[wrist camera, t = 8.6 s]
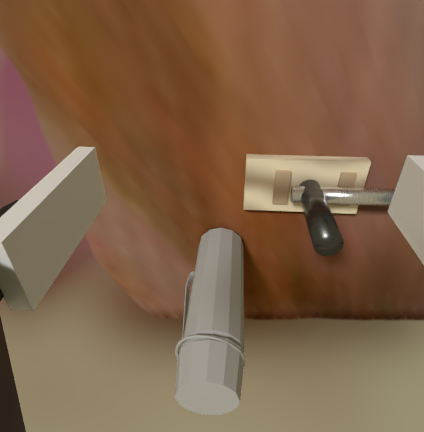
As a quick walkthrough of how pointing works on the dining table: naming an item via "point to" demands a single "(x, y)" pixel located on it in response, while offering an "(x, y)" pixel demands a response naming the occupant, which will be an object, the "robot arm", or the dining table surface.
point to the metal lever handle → (321, 214)
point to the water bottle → (213, 327)
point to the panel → (299, 179)
